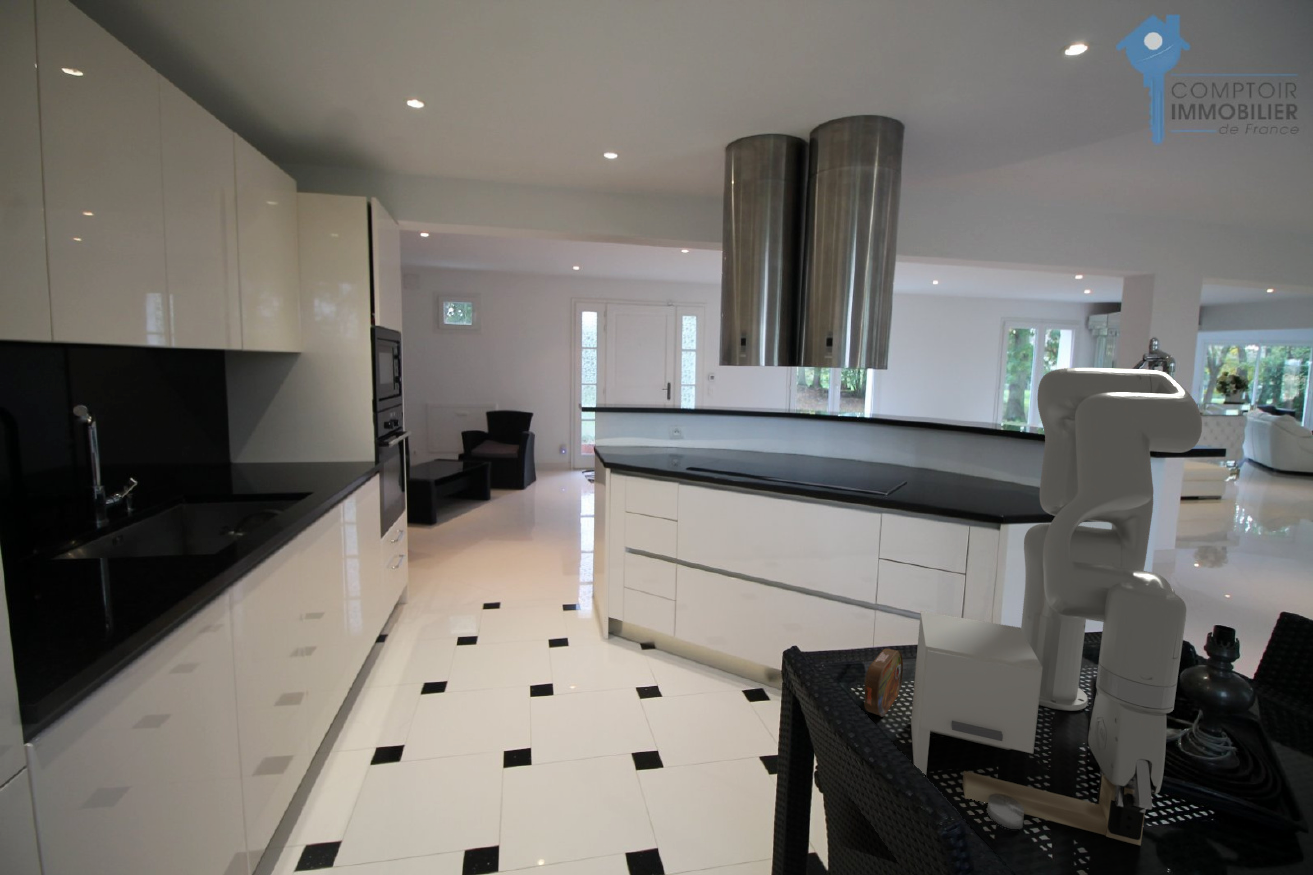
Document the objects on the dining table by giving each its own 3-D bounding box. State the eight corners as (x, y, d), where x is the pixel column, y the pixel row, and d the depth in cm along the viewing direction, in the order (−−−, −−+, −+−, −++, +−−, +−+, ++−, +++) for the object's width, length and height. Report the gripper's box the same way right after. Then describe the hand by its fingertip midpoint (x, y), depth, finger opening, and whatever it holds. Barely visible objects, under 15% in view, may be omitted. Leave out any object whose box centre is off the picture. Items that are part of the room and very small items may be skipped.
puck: (984, 804, 79) (986, 790, 78) (1019, 813, 77) (1020, 799, 77) (989, 824, 75) (990, 810, 75) (1025, 834, 74) (1027, 819, 73)
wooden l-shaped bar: (962, 783, 83) (966, 742, 82) (1129, 825, 76) (1135, 782, 75) (965, 799, 79) (969, 757, 79) (1140, 845, 72) (1146, 800, 72)
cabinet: (910, 722, 97) (920, 611, 95) (1008, 744, 92) (1020, 627, 90) (914, 780, 83) (926, 650, 81) (1030, 810, 78) (1045, 673, 76)
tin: (878, 725, 96) (882, 676, 95) (858, 718, 98) (862, 669, 97) (903, 689, 108) (906, 645, 107) (885, 683, 110) (889, 640, 109)
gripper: (1078, 651, 82) (1064, 775, 84) (1122, 712, 66) (1103, 862, 68) (1145, 662, 79) (1128, 790, 81) (1206, 729, 64) (1184, 885, 66)
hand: (1117, 822), depth 75 cm, fingers closed on wooden l-shaped bar, 3 cm apart
